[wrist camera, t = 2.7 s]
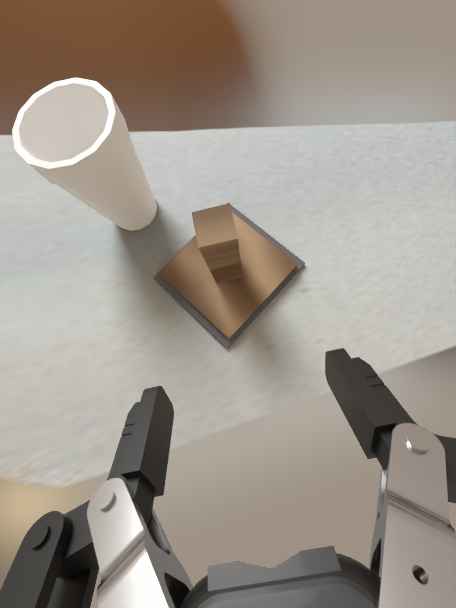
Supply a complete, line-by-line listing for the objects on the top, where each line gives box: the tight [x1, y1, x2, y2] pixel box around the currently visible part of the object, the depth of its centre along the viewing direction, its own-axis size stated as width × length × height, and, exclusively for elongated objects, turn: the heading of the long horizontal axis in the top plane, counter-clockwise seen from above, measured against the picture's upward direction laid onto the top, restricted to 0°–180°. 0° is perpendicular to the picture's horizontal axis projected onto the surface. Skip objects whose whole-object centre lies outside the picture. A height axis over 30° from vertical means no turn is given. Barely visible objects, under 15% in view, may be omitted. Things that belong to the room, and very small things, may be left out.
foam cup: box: [12, 78, 157, 231], centre depth 27 cm, size 10×9×13 cm
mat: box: [154, 203, 305, 348], centre depth 30 cm, size 14×13×1 cm
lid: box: [159, 203, 298, 339], centre depth 24 cm, size 12×12×11 cm
